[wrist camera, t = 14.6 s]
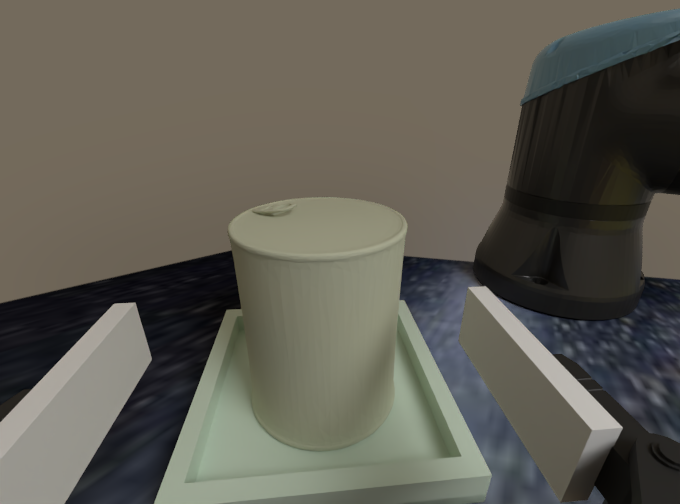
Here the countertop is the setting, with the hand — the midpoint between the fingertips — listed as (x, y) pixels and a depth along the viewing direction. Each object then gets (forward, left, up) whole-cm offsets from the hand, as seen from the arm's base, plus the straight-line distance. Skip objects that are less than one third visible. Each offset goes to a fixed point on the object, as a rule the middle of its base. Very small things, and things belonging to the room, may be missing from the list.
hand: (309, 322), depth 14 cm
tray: (-1, -5, -9) cm, 11 cm away
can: (-1, -5, -9) cm, 11 cm away
